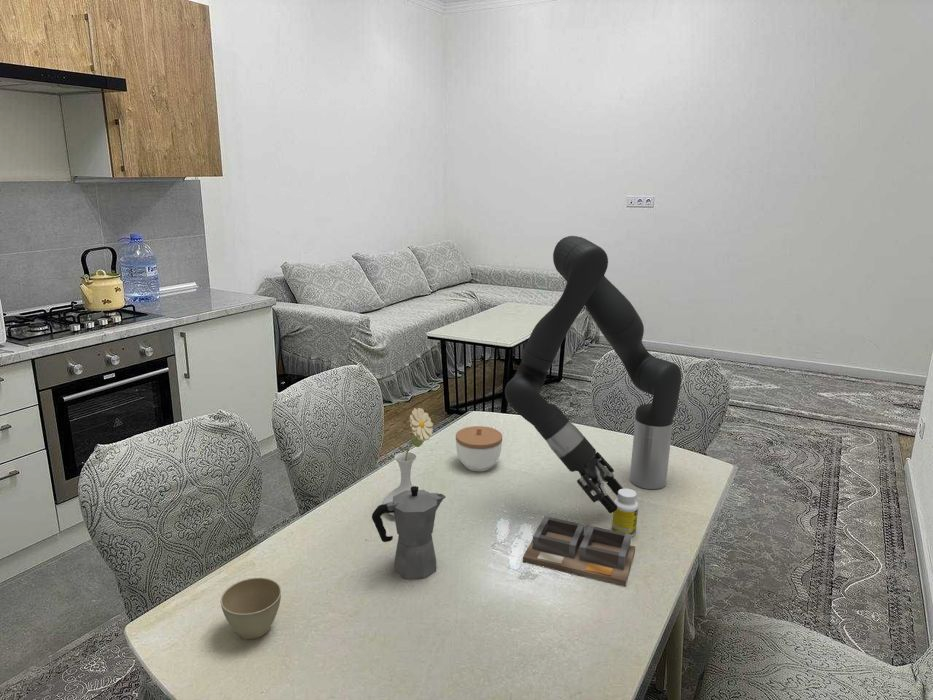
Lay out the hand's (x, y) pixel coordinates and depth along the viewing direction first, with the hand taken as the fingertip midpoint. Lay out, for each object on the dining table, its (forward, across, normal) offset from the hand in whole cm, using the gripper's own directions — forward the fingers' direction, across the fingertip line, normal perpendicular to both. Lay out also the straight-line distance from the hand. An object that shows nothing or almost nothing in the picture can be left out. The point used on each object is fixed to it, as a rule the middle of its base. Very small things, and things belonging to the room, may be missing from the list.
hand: (617, 501), depth 145 cm
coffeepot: (-20, -31, +31) cm, 48 cm away
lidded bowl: (-23, +18, +34) cm, 45 cm away
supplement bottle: (+6, 0, +4) cm, 8 cm away
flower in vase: (-28, -10, +39) cm, 49 cm away
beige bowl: (-32, -58, +43) cm, 79 cm away
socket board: (+1, -14, +9) cm, 16 cm away
